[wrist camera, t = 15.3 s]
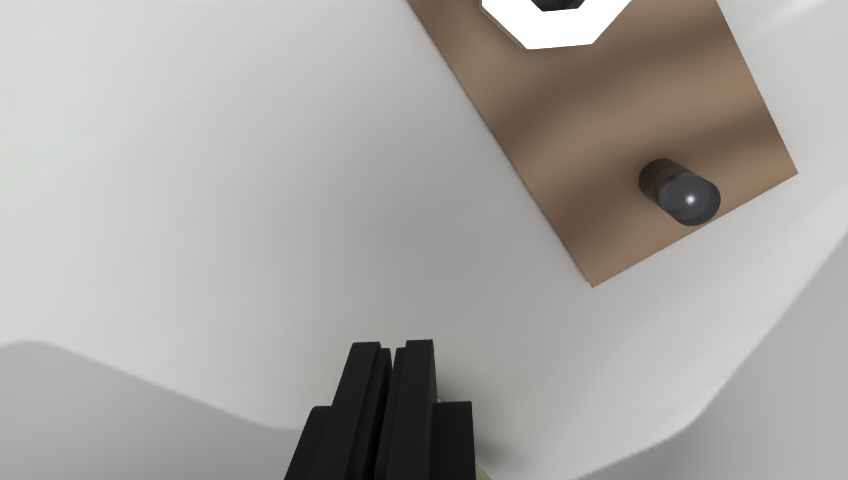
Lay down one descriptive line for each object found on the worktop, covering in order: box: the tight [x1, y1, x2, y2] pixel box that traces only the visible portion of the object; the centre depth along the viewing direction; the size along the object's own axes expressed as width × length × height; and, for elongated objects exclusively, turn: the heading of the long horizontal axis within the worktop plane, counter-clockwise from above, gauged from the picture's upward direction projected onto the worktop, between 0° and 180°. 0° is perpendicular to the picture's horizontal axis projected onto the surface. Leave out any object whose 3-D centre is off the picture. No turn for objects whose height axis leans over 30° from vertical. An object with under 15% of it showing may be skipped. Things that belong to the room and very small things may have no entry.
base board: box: [407, 0, 798, 288], centre depth 30 cm, size 21×13×1 cm, turn 35°
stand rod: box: [638, 158, 721, 226], centre depth 29 cm, size 2×2×5 cm
